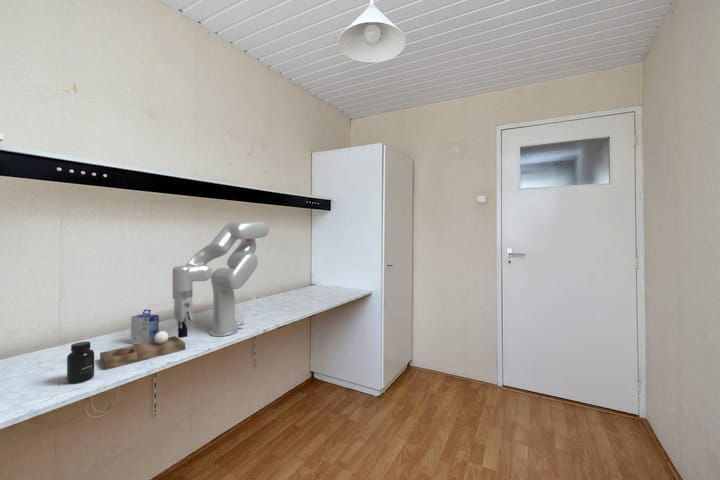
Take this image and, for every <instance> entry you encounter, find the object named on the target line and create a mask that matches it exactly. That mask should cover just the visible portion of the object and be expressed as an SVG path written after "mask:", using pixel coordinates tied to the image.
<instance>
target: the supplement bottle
mask: <svg viewBox="0 0 720 480" xmlns="http://www.w3.org/2000/svg"><path fill="white" fill-rule="evenodd" d="M94 376H95V351H94V350H93V349H92V347H91V342H90V341H79V342H75V343H72V344H71V345H70V353H69V354H67V356H66V382H67V383H68V384H80V383H84V382H87V381H89V380H91V379H93V378H94Z"/></svg>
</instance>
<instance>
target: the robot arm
mask: <svg viewBox="0 0 720 480" xmlns="http://www.w3.org/2000/svg"><path fill="white" fill-rule="evenodd" d="M269 231H270V228H269V225H268V223H267V222H265V221H263V220H257V221H256V220H254V221H252V220H251V221H237V222H236V221H232V222H227V223H226V224H225V225H224V226H223V228H222V229H221V230H220V231H219V233H218V234H217V235H216V236H215V237H214V238H213V240H212V241H211V242H210V243H209V244H207V245H206V246H204V247H203V248H201V249H199V251H198V252H196V253H195V254H194V255H193V256H192V257H191V258H190V259H189V260H188V262H187V263H186V264H185V265H177V266H176V265H175V266H174V267H173V269H172V300H173V301H174V302H173V318H174V320H176V322H177V337H178V338H179V339H181V338H182V339H183V338H186V337H188V327H189V325H190V324H189V323H190V322H189V321H191V322H193V320H194V307H193V304H194V303H193V299H192V298H193V296H194V295H193V282H206V281H208V280H210V283H211V287H212V294H213V329H211V330H210V331H209V334H210V336H213V337H227V336H232V335H234V334H236V333H238V332H239V327H241V326H245V321H244V320H243V321H236V319H235V318H236V316H235V315H236V313H235V311H236V305H235V304H236V301H235V300H236V297H235V296H236V295H235V291H234V290H238V289H241V288H242V287H243V286H244V285H245V284H246V283H247V281H249V278H250V277H251V276H252V275H253V273H254V272H255V270H256V268H257V266H258V264H259V263H258V261H259V260H258V257H257V254H255V252H256V249H257V242H256V239H260V238H264V237H266V236H268V234H269ZM237 240H240V242H239V244H238V245H237V247H236V248H235V249H234V251H233V252H232V253H231V254H230V255H229V257H228V258H227V261H226V265H227V267H220V268H217V269H215V270H214V271H213V269H212V267H210V265H207V264H208V263H209V262H211V261H213V260H215V259H218V258H220V257H223V256H224V255H226V254H227V253H228V252H229V251H230V249H231V248H232V247H233V245H234V244H235V243H236V242H237Z"/></svg>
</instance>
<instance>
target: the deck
mask: <svg viewBox="0 0 720 480" xmlns="http://www.w3.org/2000/svg"><path fill="white" fill-rule="evenodd" d="M180 351H181V352H182V351H186V342H185V341H184V340H182V339H181V338H179V337H178V336H177V335H176V336H170V337H169V338H168V340H167V341H166V342H165V343H163V344H158V343H156V342H155V341H151V342H146V343H142V344H132V345H130V346H124V347H119V348H115V349H112V350H107V351H103V352H102V351H101V352H100V353H99V361H100V362H101V364H102V365H103V367H104V369H105V370H106V371H107V370H110V369H114V368H118V367H122V366H126V365H130V364H134V363H139V362H143V361H146V360H150V359H155V358H158V357H162V356H166V355H169V354H172V353H173V354H174V353H177V352H180Z"/></svg>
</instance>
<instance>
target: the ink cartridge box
mask: <svg viewBox="0 0 720 480" xmlns="http://www.w3.org/2000/svg"><path fill="white" fill-rule="evenodd" d="M151 311H152V309H144V310H143V311H142V313H141V314H136V315H133V316H130V320H131V321H130V344H131V345H137V344H142V343H146V342H151V341H155V340H154V337H155V335H156V334H157V333H158V332H160V331H159V328H160V327H159V326H160V325H159V323H160V321H159V320H160V317H159V314H151Z"/></svg>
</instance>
